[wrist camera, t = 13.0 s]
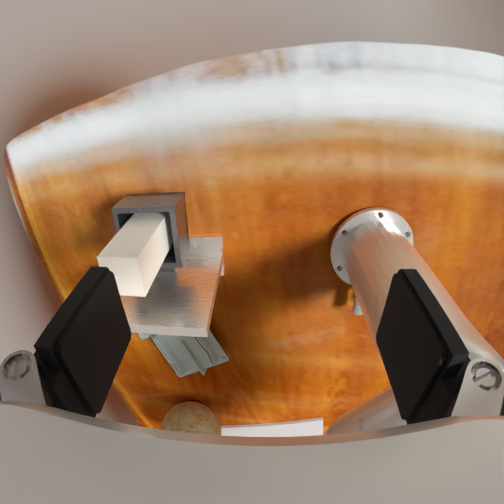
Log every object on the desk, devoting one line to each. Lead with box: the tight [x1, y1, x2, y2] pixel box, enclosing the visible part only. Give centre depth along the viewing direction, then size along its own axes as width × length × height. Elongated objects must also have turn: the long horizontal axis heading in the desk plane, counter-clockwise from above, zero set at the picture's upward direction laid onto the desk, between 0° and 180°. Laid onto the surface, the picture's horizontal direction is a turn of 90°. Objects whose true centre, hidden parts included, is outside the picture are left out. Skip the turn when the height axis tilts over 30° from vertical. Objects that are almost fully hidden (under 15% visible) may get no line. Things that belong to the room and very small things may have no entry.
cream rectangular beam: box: [97, 212, 173, 297], centre depth 31 cm, size 4×4×11 cm
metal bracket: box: [138, 329, 229, 377], centre depth 52 cm, size 14×6×15 cm
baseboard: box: [221, 417, 323, 437], centre depth 68 cm, size 31×3×12 cm
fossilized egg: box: [161, 401, 222, 436], centre depth 57 cm, size 13×13×15 cm
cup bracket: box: [111, 192, 225, 337], centre depth 35 cm, size 14×14×16 cm
